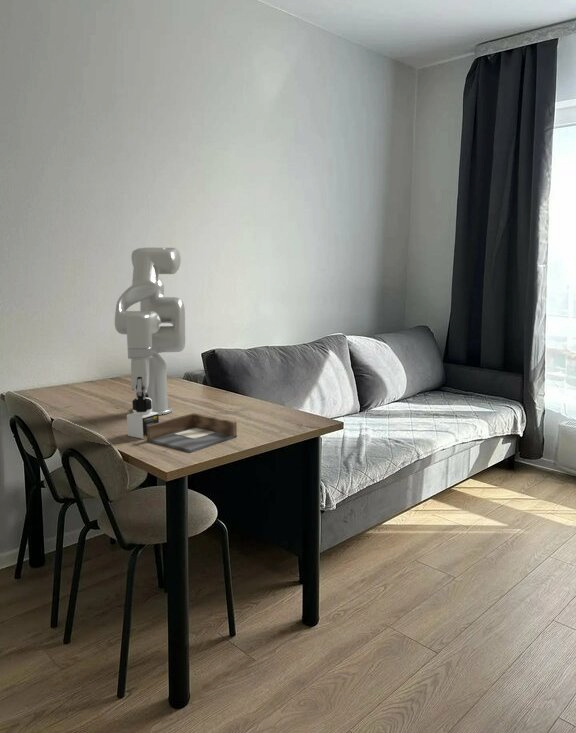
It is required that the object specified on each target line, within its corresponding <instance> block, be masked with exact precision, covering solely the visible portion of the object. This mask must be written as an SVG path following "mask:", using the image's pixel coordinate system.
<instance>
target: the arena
mask: <svg viewBox="0 0 576 733" xmlns="http://www.w3.org/2000/svg"><path fill="white" fill-rule="evenodd" d="M237 429H238V428H237V421H234V420H230V419H225V418H220V417H214V416H209V415H204V414H201V413H195V412H192V413H189V414H186V415H182V416H178V417H174V418H171V419H167V420H163V421H160V422H159V423H155V424H151V425H147V438H146V441H147V442H148V443H151V444H156V445H159V446H164V447H167V448H172V449H176V450H180V451H182V452H187V453H193V452H194V453H195V452H196V451H200V450H203V449H206V448H209V447H211V446H212V447H213V446H215V445H217V444H220V443H223V442H226V441H229V440H232V439H235V438H237V437H238V435H237V432H238V430H237Z"/></svg>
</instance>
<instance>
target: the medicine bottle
mask: <svg viewBox="0 0 576 733" xmlns="http://www.w3.org/2000/svg"><path fill="white" fill-rule="evenodd" d="M145 399H146V403H147V411H146V412H136V398H134V399H133V400H132V402H131V403H132V412H131V413H128V414H126V422H127V423H126V426H127V436H128V437H132V438H138V439H141V440H145V439H147V425H151V424H155V423H159V421H160V419H159V418H160V417H159V416H160V415H158V413H157V412H151V411H152V400H151V399H150V398H147V397H145Z"/></svg>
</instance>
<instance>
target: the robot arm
mask: <svg viewBox="0 0 576 733" xmlns="http://www.w3.org/2000/svg"><path fill="white" fill-rule="evenodd" d="M130 258H131V263H132V267H133V268H132V270H133V272H132V278H131V279H132V280H131V285H130V286H129V287H128V288H127V289H126V290H125V291H123V293H121V295H120V296H119V297H118V299H117V301H116V304H115V305H116V306H115V312H114V327H115V331H116V332H117V333H118V334H120V335H126V343H127V344H126V345H127V346H126V347H127V358H128V359H129V360H130V382H131V383H130V385H131V386H130V387H131V388H130V390H131V391H132V392H134V390H135V399H136V412H146V411H147V403H146V399H145V397H147V398H150V399H151V400H152V411H151V412H157V413H158V416H163V415H167V414H169V413H171V411H172V412H173V408H172V406H170V405H169V403H168V378H167V375H168V374H167V372H168V371H167V363H166V361H165V360H164V358H163V357H162V356H161V355H160V354H161V353H181V352H182V351H184V349H185V347H186V310H185V303H184V302H183V300H182V299H181V298H180V297H177V296H176V297H175V296H172V297H171V296H170V297H169V296H165V284H164V283H163V281H162V280H161V279H160V277H159V275H175V274H176V273H177V271H178V270H179V268H180V266H181V259H182V258H181V254H180V252H179V249H178V248H176V247H139V248H136V249H134V250H132V252H131V257H130ZM139 302H140V304H139V305H140V307H139V310H128V309H129V308H130V307H131V306H133V305H134V304H135V305H136V304H137V303H139ZM162 324H171V325H162ZM162 414H163V415H162Z"/></svg>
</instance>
